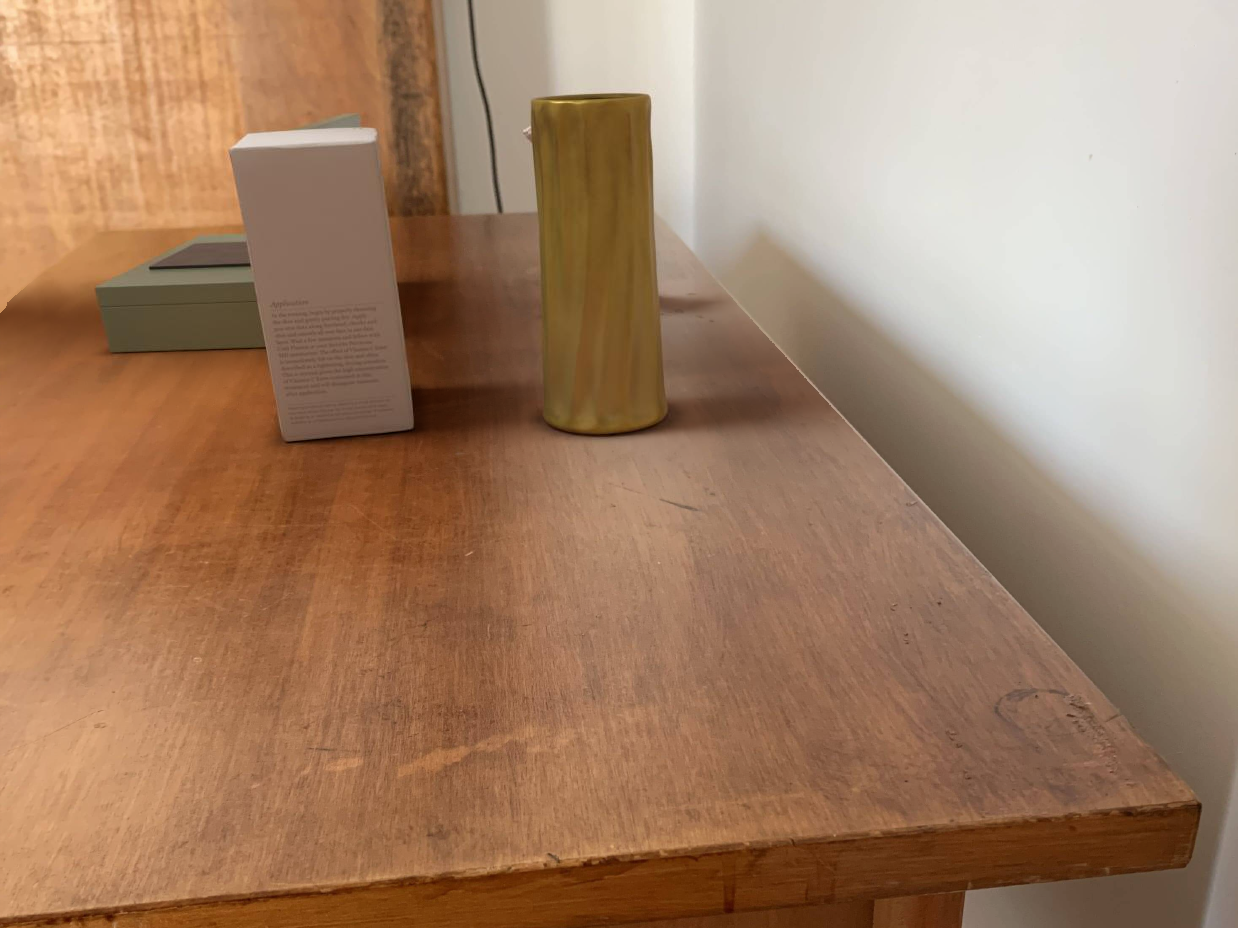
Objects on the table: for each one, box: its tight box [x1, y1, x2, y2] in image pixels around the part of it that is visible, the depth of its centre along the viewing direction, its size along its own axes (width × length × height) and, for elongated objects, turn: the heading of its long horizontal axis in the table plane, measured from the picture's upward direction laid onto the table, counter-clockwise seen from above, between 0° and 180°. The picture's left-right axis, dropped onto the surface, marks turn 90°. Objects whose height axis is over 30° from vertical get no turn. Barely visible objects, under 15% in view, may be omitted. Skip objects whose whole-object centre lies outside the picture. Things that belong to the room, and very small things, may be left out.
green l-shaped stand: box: [94, 113, 362, 354], centre depth 78 cm, size 13×20×12 cm, turn 1°
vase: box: [530, 92, 669, 435], centre depth 54 cm, size 6×6×14 cm
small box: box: [228, 127, 415, 443], centre depth 56 cm, size 8×6×13 cm
